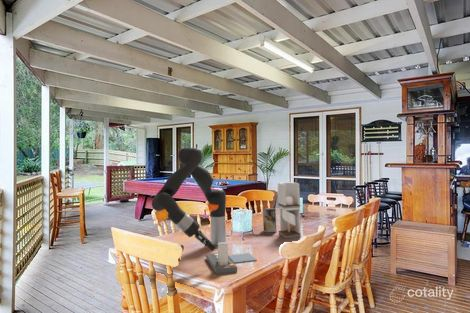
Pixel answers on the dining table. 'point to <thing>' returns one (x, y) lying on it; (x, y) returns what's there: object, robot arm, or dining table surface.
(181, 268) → the dining table surface
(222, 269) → the power strip
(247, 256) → the mat
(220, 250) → the white tall rectangular block
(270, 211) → the coffee box
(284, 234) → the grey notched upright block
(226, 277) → the dining table surface
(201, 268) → the dining table surface
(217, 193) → the robot arm
